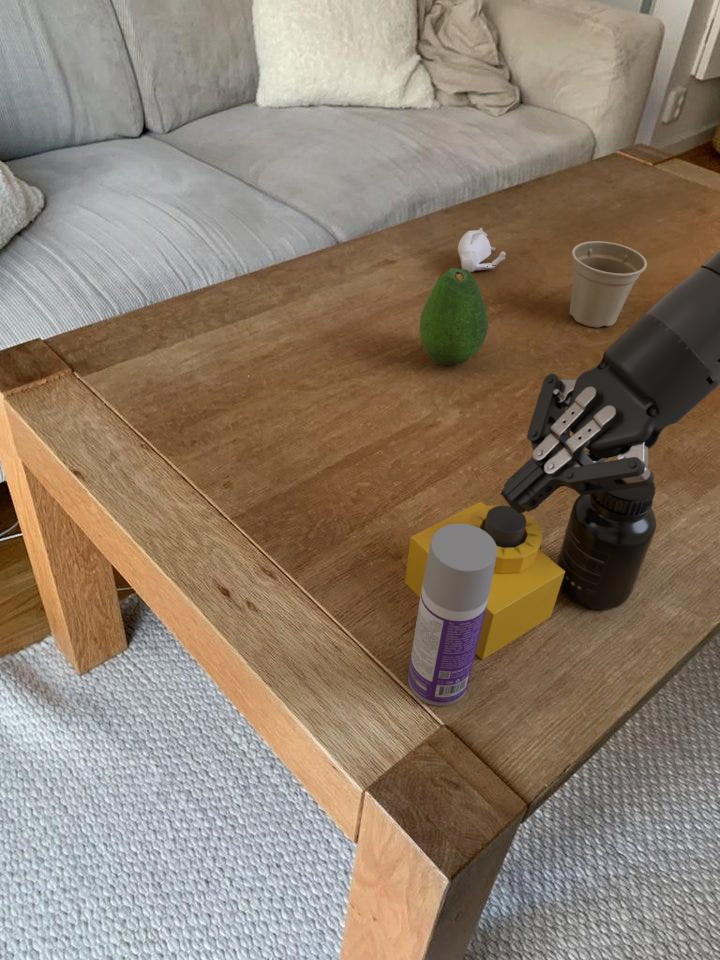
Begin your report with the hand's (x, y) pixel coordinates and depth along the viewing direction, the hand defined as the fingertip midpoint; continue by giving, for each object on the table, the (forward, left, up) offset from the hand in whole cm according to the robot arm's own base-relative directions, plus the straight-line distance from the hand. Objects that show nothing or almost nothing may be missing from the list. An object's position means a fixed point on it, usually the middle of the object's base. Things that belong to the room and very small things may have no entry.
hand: (510, 503), depth 64 cm
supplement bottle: (-4, -8, -11) cm, 14 cm away
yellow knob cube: (0, +1, -10) cm, 11 cm away
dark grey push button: (0, 0, -3) cm, 3 cm away
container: (-4, +10, -11) cm, 15 cm away
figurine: (+47, -43, -11) cm, 64 cm away
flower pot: (+28, -46, -11) cm, 55 cm away
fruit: (+30, -22, -11) cm, 39 cm away
